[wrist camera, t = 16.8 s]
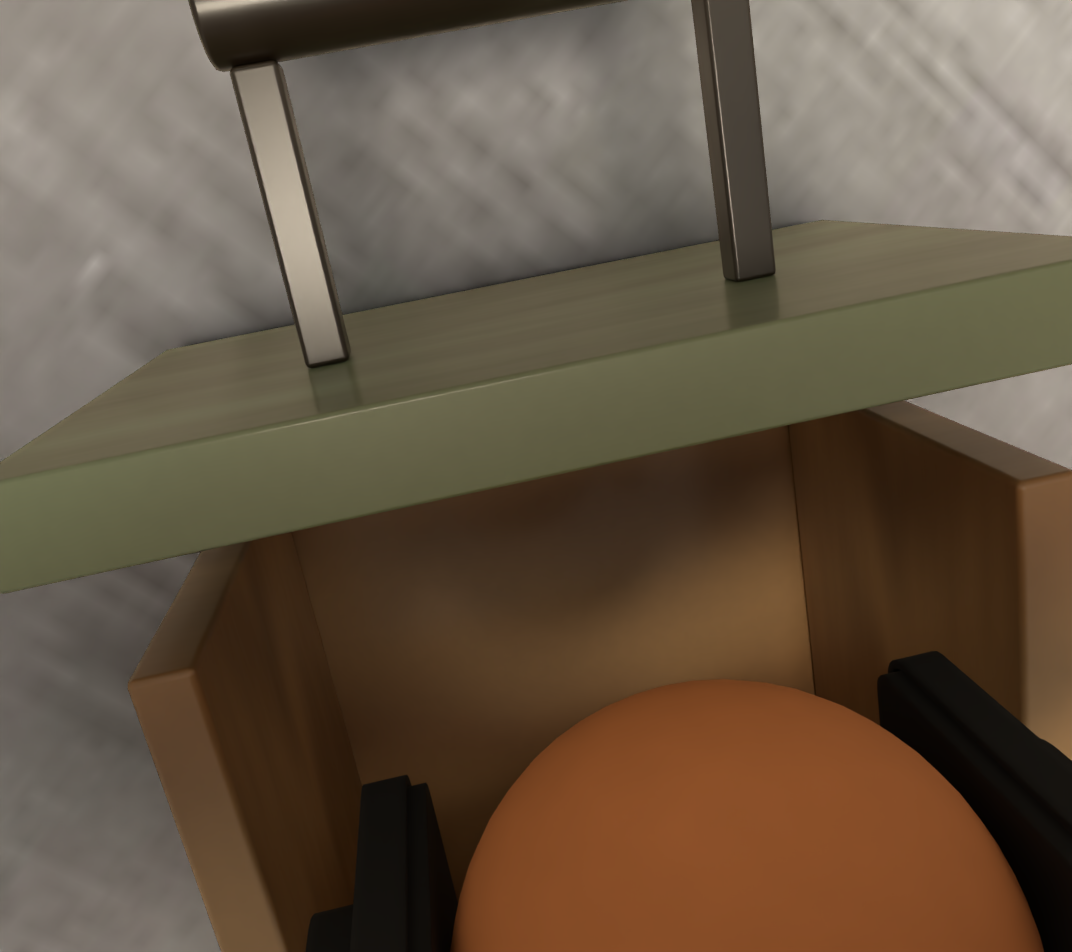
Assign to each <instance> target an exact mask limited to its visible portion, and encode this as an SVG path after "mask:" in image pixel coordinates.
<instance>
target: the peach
mask: <svg viewBox="0 0 1072 952" xmlns="http://www.w3.org/2000/svg"><path fill="white" fill-rule="evenodd" d="M450 952H1044V949H1043V945H1042V941H1041V938H1040V934H1039V932H1038V929H1037V926H1036V923H1035V921H1034V918H1033V915H1032V913H1031V910H1030V907H1029V904H1028V902H1027V899H1026V897H1025V895H1024V893H1023V891H1022V889H1021V887H1020V885H1019V883H1018V880H1017V878H1016V876H1015V874H1014V872H1013V870H1012V869H1011V867H1010V865H1009V863H1008V862H1007V860H1006V858H1005V856H1004V854H1003V853H1002V851H1001V849H1000V847H999V845H998V844H997V842H996V841H995V839H994V838H993V837H992V835H991V834H990V832H989V831H988V829H987V828H986V827H985V825H984V824H983V822H982V821H981V819H980V818H979V817H978V816H977V814H976V813H975V812H974V811H973V809H972V808H971V807H970V805H969V804H968V803H967V802H966V800H965V799H964V798H963V796H962V795H961V794H960V793H959V792H958V791H957V790H956V789H955V788H954V787H953V786H952V785H951V784H950V783H949V782H948V781H947V780H946V779H945V778H944V777H943V776H942V775H941V774H940V773H939V772H938V771H937V770H936V769H935V768H934V767H933V766H932V765H931V764H930V763H928V762H927V761H926V760H925V759H924V758H923V757H922V756H921V755H920V754H919V753H918V752H916V751H915V750H914V749H912V748H911V747H910V746H908V745H907V744H905V743H904V742H903V741H901V740H900V739H899V738H897V737H896V736H894V735H893V734H892V733H890V732H888V731H887V730H885V729H884V728H882V727H881V726H879V725H877V724H876V723H874V722H873V721H871V720H869V719H867V718H866V717H864V716H862V715H860V714H858V713H856V712H854V711H852V710H850V709H848V708H846V707H844V706H842V705H839V704H837V703H834V702H832V701H829V700H826V699H824V698H821V697H818V696H815V695H812V694H809V693H807V692H804V691H801V690H798V689H795V688H790V687H785V686H780V685H775V684H770V683H764V682H755V681H743V680H729V679H713V680H694V681H687V682H682V683H676V684H670V685H664V686H661V687H657V688H654V689H650V690H647V691H644V692H640V693H637V694H634V695H631V696H629V697H627V698H624V699H622V700H620V701H617V702H615V703H613V704H610V705H608V706H606V707H604V708H602V709H601V710H599V711H597V712H595V713H593V714H592V715H590V716H588V717H586V718H585V719H583V720H581V721H580V722H578V723H577V724H575V725H574V726H573V727H571V728H570V729H569V730H567V731H566V732H564V733H563V734H562V735H560V736H559V737H558V738H556V739H555V740H554V741H553V742H552V743H551V744H550V745H549V746H548V747H547V748H545V749H544V750H543V751H542V752H541V753H540V754H539V755H538V756H537V757H536V758H535V759H534V760H533V761H532V762H531V763H530V765H529V766H528V767H527V768H526V769H525V771H524V772H523V773H522V774H521V775H520V777H519V778H518V779H517V780H516V781H515V783H514V784H513V785H512V786H511V788H510V789H509V790H508V792H507V793H506V795H505V796H504V798H503V799H502V801H501V802H500V804H499V805H498V807H497V809H496V810H495V812H494V813H493V815H492V816H491V818H490V820H489V822H488V824H487V826H486V828H485V830H484V833H483V835H482V837H481V839H480V841H479V843H478V845H477V848H476V850H475V852H474V855H473V857H472V859H471V862H470V864H469V867H468V870H467V873H466V877H465V880H464V883H463V887H462V890H461V893H460V897H459V902H458V907H457V912H456V917H455V922H454V929H453V936H452V942H451V949H450Z"/></svg>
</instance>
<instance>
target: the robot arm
mask: <svg viewBox="0 0 1072 952" xmlns="http://www.w3.org/2000/svg"><path fill="white" fill-rule="evenodd" d="M877 693H878V706H879V719H880V726H881V727H882V728H884V729H885V730H887V731H888V732H890V733H892V734H893V735H894V736H896V737H897V738H899V739H900V740H901V741H903V742H904V743H905V744H907V745H908V746H910V747H911V748H912V749H914V750H915V751H916V752H918V753H919V754H920V755H921V756H922V757H923V758H924V759H925V760H926V761H927V762H928V763H930V764H931V765H932V766H933V767H934V768H935V769H936V770H937V771H938V772H939V773H940V774H941V775H942V776H943V777H944V778H945V779H946V780H947V781H948V782H949V783H950V784H951V785H952V786H953V787H954V788H955V789H956V790H957V791H958V792H959V793H960V794H961V795H962V796H963V798H964V799H965V800H966V802H967V803H968V804H969V805H970V807H971V808H972V809H973V811H974V812H975V813H976V814H977V816H978V817H979V818H980V819H981V821H982V822H983V824H984V825H985V827H986V828H987V829H988V831H989V832H990V834H991V835H992V837H993V838H994V839H995V841H996V842H997V844H998V845H999V847H1000V849H1001V851H1002V853H1003V854H1004V856H1005V858H1006V860H1007V862H1008V863H1009V865H1010V867H1011V869H1012V870H1013V872H1014V874H1015V876H1016V878H1017V880H1018V883H1019V885H1020V887H1021V889H1022V891H1023V893H1024V895H1025V897H1026V899H1027V902H1028V904H1029V907H1030V910H1031V913H1032V915H1033V918H1034V921H1035V923H1036V926H1037V929H1038V932H1039V934H1040V938H1041V941H1042V945H1043V949H1044V952H1072V761H1071V760H1070V759H1069V758H1068V757H1067V756H1066V755H1064V754H1063V753H1062V752H1061V751H1060V750H1059V749H1057V748H1056V747H1055V746H1054V745H1052V744H1050V743H1049V742H1047V741H1046V740H1044V739H1040V738H1039V737H1038V736H1037V735H1035V734H1034V733H1033V732H1032V731H1031V730H1030V729H1028V728H1027V727H1026V726H1025V725H1024V724H1023V723H1021V722H1020V721H1019V720H1018V719H1017V718H1016V717H1014V716H1013V715H1012V714H1011V713H1010V712H1009V711H1008V710H1006V709H1005V708H1004V707H1003V706H1002V705H1001V704H999V703H998V702H997V701H996V700H995V699H994V698H992V697H991V696H990V695H989V694H988V693H987V692H985V691H984V690H983V689H982V688H981V687H980V686H979V685H977V684H976V683H975V682H974V681H973V680H972V679H970V678H969V677H968V676H967V675H966V674H965V673H963V672H962V671H961V670H960V669H959V668H958V667H956V666H955V665H954V664H953V663H952V662H951V661H950V660H948V659H947V658H946V657H945V656H944V655H943V654H941V653H939V652H938V651H930V652H926V653H922V654H918V655H913V656H909V657H905V658H900V659H896V660H892V661H891V662H890V663H889V667H888V674H884V675H880V676H879V677H878V680H877ZM457 907H458V901H457V897H456V893H455V889H454V885H453V881H452V877H451V873H450V869H449V865H448V862H447V858H446V854H445V850H444V846H443V842H442V838H441V834H440V830H439V826H438V822H437V818H436V814H435V810H434V806H433V802H432V798H431V794H430V791H429V787H428V785H427V783H422V784H418V785H413V786H412V785H411V782H410V779H409V777H408V775H402V776H398V777H394V778H390V779H385V780H381V781H377V782H373V783H368V784H364V785H363V786H362V790H361V801H360V816H359V830H358V844H357V858H356V872H355V886H354V900H353V904H352V905H348V906H343V907H339V908H335V909H331V910H327V911H323V912H319V913H315V914H314V915H313V916H312V918H311V920H310V924H309V929H308V936H307V944H306V951H305V952H450V949H451V942H452V936H453V929H454V922H455V917H456V912H457Z"/></svg>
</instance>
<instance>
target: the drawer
mask: <svg viewBox="0 0 1072 952" xmlns="http://www.w3.org/2000/svg"><path fill="white" fill-rule="evenodd" d="M188 1H189V5H190V9H191V12H192V16H193V19H194V22H195V25H196V28H197V31H198V34H199V37H200V40H201V42H202V45H203V47H204V50H205V52H206V54H207V56H208V58H209V60H210V62H211V63H212V65H213V66H214V67H215V69H216V70H218V71H222V72H225V71H230V76H231V80H232V84H233V87H234V91H235V95H236V99H237V103H238V107H239V111H240V114H241V118H242V122H243V126H244V130H245V134H246V138H247V142H248V145H249V149H250V153H251V157H252V161H253V165H254V169H255V172H256V176H257V180H258V184H259V188H260V192H261V196H262V199H263V203H264V207H265V211H266V215H267V219H268V223H269V227H270V230H271V234H272V238H273V242H274V246H275V250H276V254H277V257H278V261H279V265H280V269H281V273H282V277H283V281H284V285H285V288H286V292H287V296H288V300H289V304H290V308H291V312H292V315H293V319H294V323H295V325H290V326H285V327H280V328H275V329H270V330H265V331H260V332H255V333H250V334H245V335H239V336H234V337H229V338H224V339H219V340H214V341H209V342H204V343H199V344H194V345H189V346H184V347H179V348H174V349H169V350H166V351H165V352H163V353H162V354H160V355H159V356H157V357H156V358H154V359H153V360H151V361H150V362H148V363H147V364H145V365H144V366H142V367H141V368H140V369H138V370H137V371H135V372H134V373H132V374H131V375H129V376H128V377H126V378H125V379H123V380H122V381H120V382H119V383H117V384H116V385H114V386H113V387H111V388H110V389H108V390H107V391H105V392H104V393H102V394H101V395H99V396H98V397H96V398H95V399H93V400H92V401H90V402H89V403H87V404H86V405H84V406H83V407H81V408H80V409H79V410H77V411H76V412H74V413H73V414H71V415H70V416H68V417H67V418H65V419H64V420H62V421H61V422H59V423H58V424H56V425H55V426H53V427H52V428H50V429H49V430H47V431H46V432H44V433H43V434H41V435H40V436H38V437H37V438H35V439H34V440H32V441H31V442H29V443H28V444H26V445H25V446H23V447H22V448H21V449H19V450H18V451H16V452H15V453H13V454H12V455H10V456H9V457H7V458H6V459H4V460H3V461H1V462H0V594H5V593H10V592H14V591H19V590H24V589H28V588H33V587H38V586H42V585H47V584H52V583H56V582H61V581H66V580H70V579H75V578H80V577H84V576H89V575H94V574H98V573H103V572H107V571H112V570H117V569H121V568H126V567H131V566H135V565H140V564H145V563H149V562H154V561H159V560H163V559H168V558H173V557H177V556H182V555H187V554H191V553H196V552H201V553H200V554H199V556H198V558H197V560H196V561H195V563H194V565H193V567H192V569H191V570H190V572H189V574H188V576H187V578H186V579H185V581H184V583H183V585H182V587H181V588H180V590H179V592H178V594H177V596H176V597H175V599H174V601H173V603H172V604H171V606H170V608H169V610H168V612H167V613H166V615H165V617H164V619H163V621H162V622H161V624H160V626H159V628H158V630H157V631H156V633H155V635H154V637H153V639H152V640H151V642H150V644H149V646H148V647H147V649H146V651H145V653H144V655H143V656H142V658H141V660H140V662H139V664H138V665H137V667H136V669H135V671H134V673H133V674H132V676H131V678H130V680H129V682H128V691H129V693H130V696H131V699H132V702H133V705H134V707H135V710H136V713H137V716H138V719H139V722H140V724H141V727H142V730H143V733H144V736H145V738H146V741H147V744H148V747H149V750H150V753H151V755H152V758H153V761H154V764H155V767H156V769H157V772H158V775H159V778H160V781H161V783H162V786H163V789H164V792H165V795H166V798H167V800H168V803H169V806H170V809H171V812H172V814H173V817H174V820H175V823H176V826H177V828H178V831H179V834H180V837H181V840H182V843H183V845H184V848H185V851H186V854H187V857H188V859H189V862H190V865H191V868H192V871H193V873H194V876H195V879H196V882H197V885H198V888H199V890H200V893H201V896H202V899H203V902H204V904H205V907H206V910H207V913H208V916H209V918H210V921H211V924H212V927H213V930H214V933H215V935H216V938H217V941H218V944H219V947H220V949H221V952H305V951H306V944H307V936H308V929H309V924H310V920H311V918H312V916H313V915H314V914H315V913H319V912H323V911H327V910H331V909H335V908H339V907H343V906H348V905H352V904H353V900H354V886H355V872H356V858H357V844H358V830H359V816H360V801H361V790H362V786H363V785H364V784H368V783H373V782H377V781H381V780H385V779H390V778H394V777H398V776H402V775H408V777H409V779H410V782H411V785H412V786H413V785H418V784H422V783H427V785H428V787H429V791H430V794H431V798H432V802H433V806H434V810H435V814H436V818H437V822H438V826H439V830H440V834H441V838H442V842H443V846H444V850H445V854H446V858H447V862H448V865H449V869H450V873H451V877H452V881H453V885H454V889H455V893H456V897H457V901H458V902H459V897H460V893H461V890H462V887H463V883H464V880H465V877H466V873H467V870H468V867H469V864H470V862H471V859H472V857H473V855H474V852H475V850H476V848H477V845H478V843H479V841H480V839H481V837H482V835H483V833H484V830H485V828H486V826H487V824H488V822H489V820H490V818H491V816H492V815H493V813H494V812H495V810H496V809H497V807H498V805H499V804H500V802H501V801H502V799H503V798H504V796H505V795H506V793H507V792H508V790H509V789H510V788H511V786H512V785H513V784H514V783H515V781H516V780H517V779H518V778H519V777H520V775H521V774H522V773H523V772H524V771H525V769H526V768H527V767H528V766H529V765H530V763H531V762H532V761H533V760H534V759H535V758H536V757H537V756H538V755H539V754H540V753H541V752H542V751H543V750H544V749H545V748H547V747H548V746H549V745H550V744H551V743H552V742H553V741H554V740H555V739H556V738H558V737H559V736H560V735H562V734H563V733H564V732H566V731H567V730H569V729H570V728H571V727H573V726H574V725H575V724H577V723H578V722H580V721H581V720H583V719H585V718H586V717H588V716H590V715H592V714H593V713H595V712H597V711H599V710H601V709H602V708H604V707H606V706H608V705H610V704H613V703H615V702H617V701H620V700H622V699H624V698H627V697H629V696H631V695H634V694H637V693H640V692H644V691H647V690H650V689H654V688H657V687H661V686H664V685H670V684H676V683H682V682H687V681H694V680H713V679H729V680H743V681H755V682H764V683H770V684H775V685H780V686H785V687H790V688H795V689H798V690H801V691H804V692H807V693H809V694H812V695H815V696H818V697H821V698H824V699H826V700H829V701H832V702H834V703H837V704H839V705H842V706H844V707H846V708H848V709H850V710H852V711H854V712H856V713H858V714H860V715H862V716H864V717H866V718H867V719H869V720H871V721H873V722H874V723H876V724H877V725H879V726H880V719H879V706H878V693H877V680H878V677H879V676H880V675H884V674H888V667H889V663H890V662H891V661H892V660H896V659H900V658H905V657H909V656H913V655H918V654H922V653H926V652H930V651H938V652H939V653H941V654H943V655H944V656H945V657H946V658H947V659H948V660H950V661H951V662H952V663H953V664H954V665H955V666H956V667H958V668H959V669H960V670H961V671H962V672H963V673H965V674H966V675H967V676H968V677H969V678H970V679H972V680H973V681H974V682H975V683H976V684H977V685H979V686H980V687H981V688H982V689H983V690H984V691H985V692H987V693H988V694H989V695H990V696H991V697H992V698H994V699H995V700H996V701H997V702H998V703H999V704H1001V705H1002V706H1003V707H1004V708H1005V709H1006V710H1008V711H1009V712H1010V713H1011V714H1012V715H1013V716H1014V717H1016V718H1017V719H1018V720H1019V721H1020V722H1021V723H1023V724H1024V725H1025V726H1026V727H1027V728H1028V729H1030V730H1031V731H1032V732H1033V733H1034V734H1035V735H1037V736H1038V737H1039V738H1040V739H1044V740H1046V741H1047V742H1049V743H1050V744H1052V745H1054V746H1055V747H1056V748H1057V749H1059V750H1060V751H1061V752H1062V753H1063V754H1064V755H1066V756H1067V757H1068V758H1069V759H1070V760H1071V761H1072V470H1071V469H1068V468H1066V467H1063V466H1061V465H1059V464H1056V463H1054V462H1051V461H1049V460H1046V459H1044V458H1042V457H1039V456H1037V455H1034V454H1032V453H1030V452H1027V451H1025V450H1022V449H1020V448H1017V447H1015V446H1013V445H1010V444H1008V443H1005V442H1003V441H1001V440H998V439H996V438H993V437H991V436H988V435H986V434H984V433H981V432H979V431H976V430H974V429H972V428H969V427H967V426H964V425H962V424H960V423H957V422H955V421H952V420H950V419H947V418H945V417H943V416H940V415H938V414H935V413H933V412H931V411H928V410H926V409H923V408H921V407H918V406H916V405H914V404H911V403H909V402H906V401H904V400H908V399H912V398H917V397H922V396H926V395H931V394H936V393H940V392H945V391H950V390H954V389H959V388H964V387H968V386H973V385H978V384H982V383H987V382H992V381H996V380H1001V379H1005V378H1010V377H1015V376H1019V375H1024V374H1029V373H1033V372H1038V371H1043V370H1047V369H1052V368H1057V367H1061V366H1066V365H1071V364H1072V236H1058V235H1043V234H1027V233H1012V232H997V231H982V230H967V229H951V228H936V227H921V226H906V225H891V224H875V223H860V222H845V221H830V220H819V221H814V222H809V223H804V224H799V225H794V226H789V227H784V228H779V229H774V230H772V227H771V217H770V207H769V197H768V187H767V177H766V167H765V157H764V147H763V136H762V126H761V116H760V106H759V96H758V86H757V76H756V66H755V56H754V46H753V36H752V26H751V16H750V6H749V0H691V3H692V12H693V20H694V29H695V37H696V46H697V54H698V63H699V71H700V80H701V89H702V97H703V106H704V114H705V123H706V131H707V140H708V148H709V157H710V165H711V174H712V183H713V191H714V200H715V208H716V217H717V225H718V234H719V240H718V241H713V242H708V243H703V244H698V245H693V246H688V247H683V248H678V249H673V250H668V251H663V252H658V253H653V254H648V255H643V256H638V257H633V258H628V259H623V260H618V261H613V262H608V263H602V264H597V265H592V266H587V267H582V268H577V269H572V270H567V271H562V272H557V273H552V274H547V275H542V276H537V277H532V278H527V279H522V280H517V281H512V282H507V283H502V284H497V285H492V286H487V287H481V288H476V289H471V290H466V291H461V292H456V293H451V294H446V295H441V296H436V297H431V298H426V299H421V300H416V301H411V302H406V303H401V304H396V305H391V306H386V307H381V308H376V309H371V310H366V311H360V312H355V313H350V314H345V315H342V311H341V306H340V302H339V298H338V294H337V290H336V286H335V282H334V278H333V273H332V269H331V265H330V261H329V257H328V253H327V249H326V245H325V240H324V236H323V232H322V228H321V224H320V220H319V216H318V212H317V207H316V203H315V199H314V195H313V191H312V187H311V183H310V178H309V174H308V170H307V166H306V162H305V158H304V154H303V150H302V145H301V141H300V137H299V133H298V129H297V125H296V121H295V117H294V112H293V108H292V104H291V100H290V96H289V92H288V88H287V84H286V79H285V75H284V71H283V69H282V67H281V66H280V65H279V64H278V63H277V62H282V61H287V60H293V59H299V58H304V57H310V56H316V55H321V54H327V53H333V52H338V51H344V50H350V49H355V48H361V47H366V46H372V45H378V44H383V43H389V42H395V41H400V40H406V39H412V38H417V37H423V36H429V35H434V34H440V33H446V32H451V31H457V30H462V29H468V28H474V27H479V26H485V25H491V24H496V23H502V22H508V21H513V20H519V19H525V18H530V17H536V16H542V15H547V14H553V13H559V12H564V11H570V10H575V9H581V8H587V7H592V6H598V5H604V4H609V3H615V2H621V1H626V0H188Z"/></svg>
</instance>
